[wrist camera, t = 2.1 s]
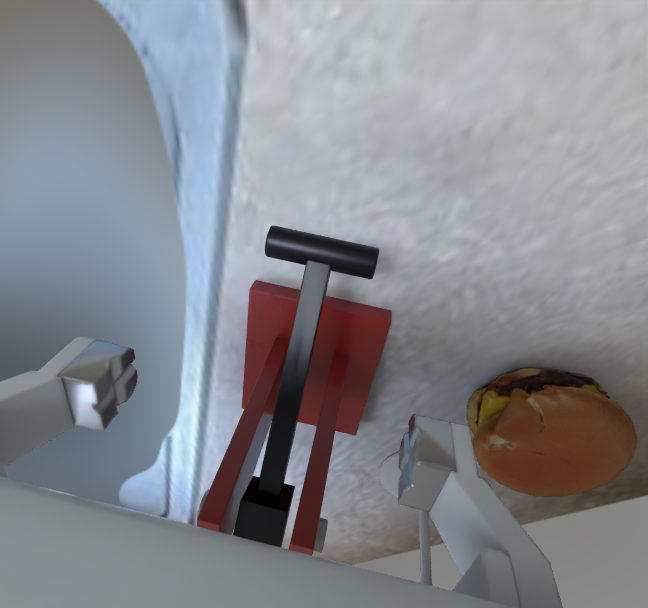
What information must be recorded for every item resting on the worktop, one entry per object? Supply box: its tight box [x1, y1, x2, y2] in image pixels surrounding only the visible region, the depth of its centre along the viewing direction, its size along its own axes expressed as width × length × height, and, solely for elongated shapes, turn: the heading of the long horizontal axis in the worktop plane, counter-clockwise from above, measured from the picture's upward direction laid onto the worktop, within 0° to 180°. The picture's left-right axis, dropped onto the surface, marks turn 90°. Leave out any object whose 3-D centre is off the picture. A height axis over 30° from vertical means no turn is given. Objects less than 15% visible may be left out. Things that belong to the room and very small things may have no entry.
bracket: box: [197, 281, 391, 555], centre depth 24 cm, size 11×9×14 cm
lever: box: [233, 226, 379, 548], centre depth 19 cm, size 15×5×2 cm, turn 172°
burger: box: [467, 368, 637, 497], centre depth 27 cm, size 10×9×5 cm
